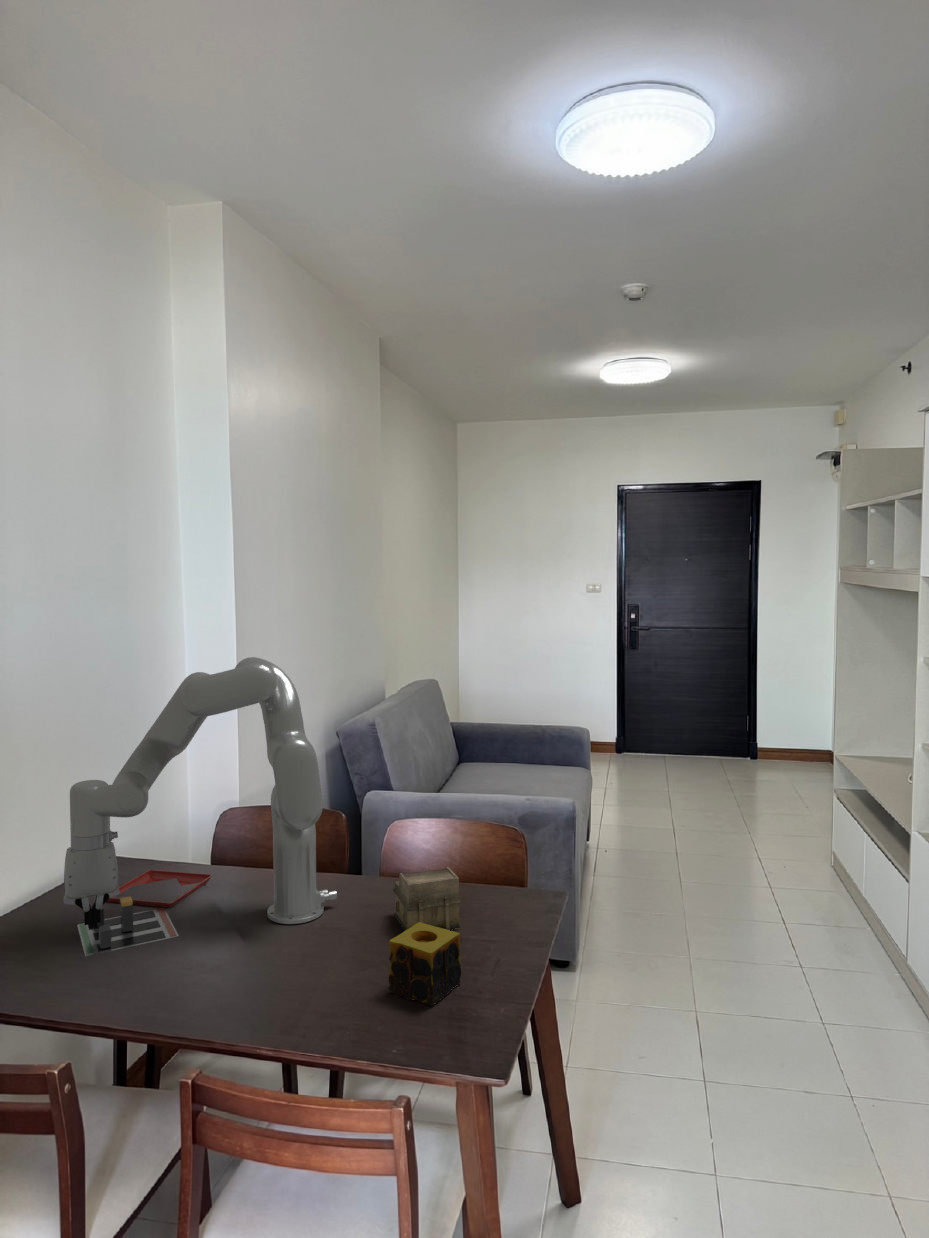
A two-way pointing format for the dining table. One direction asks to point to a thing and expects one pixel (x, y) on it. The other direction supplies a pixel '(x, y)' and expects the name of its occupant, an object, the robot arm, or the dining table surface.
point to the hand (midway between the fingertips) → (92, 926)
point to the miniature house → (428, 899)
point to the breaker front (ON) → (105, 936)
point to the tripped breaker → (126, 913)
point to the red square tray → (161, 875)
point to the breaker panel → (129, 932)
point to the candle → (424, 963)
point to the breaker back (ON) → (101, 917)
